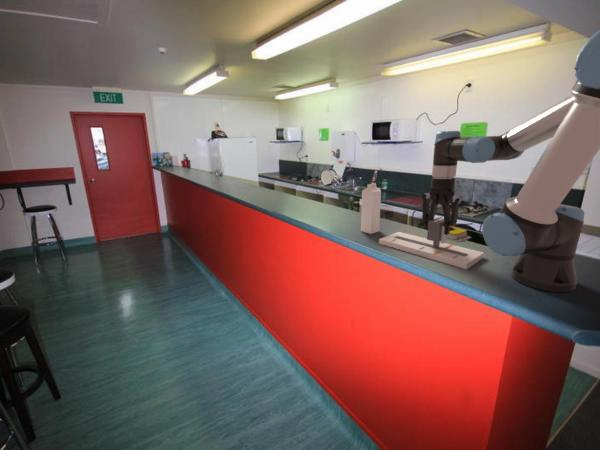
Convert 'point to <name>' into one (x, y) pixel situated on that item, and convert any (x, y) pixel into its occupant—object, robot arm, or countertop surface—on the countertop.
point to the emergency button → (457, 234)
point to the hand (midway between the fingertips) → (436, 240)
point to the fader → (435, 231)
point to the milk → (370, 209)
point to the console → (433, 250)
